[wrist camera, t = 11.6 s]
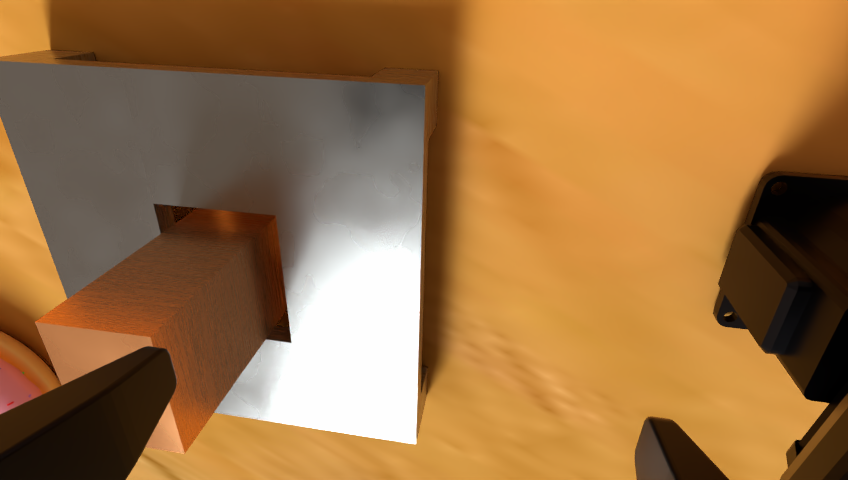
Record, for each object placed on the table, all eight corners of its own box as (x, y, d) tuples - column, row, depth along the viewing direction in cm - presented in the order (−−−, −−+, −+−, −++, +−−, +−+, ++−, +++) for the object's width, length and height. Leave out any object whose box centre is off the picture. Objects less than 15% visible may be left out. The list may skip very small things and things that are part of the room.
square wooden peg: (292, 200, 22) (150, 337, 13) (302, 287, 24) (185, 453, 15) (217, 194, 22) (34, 321, 14) (233, 280, 24) (83, 437, 16)
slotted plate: (438, 70, 18) (425, 85, 15) (426, 396, 25) (415, 444, 23) (49, 49, 20) (-21, 59, 18) (142, 355, 28) (102, 395, 25)
